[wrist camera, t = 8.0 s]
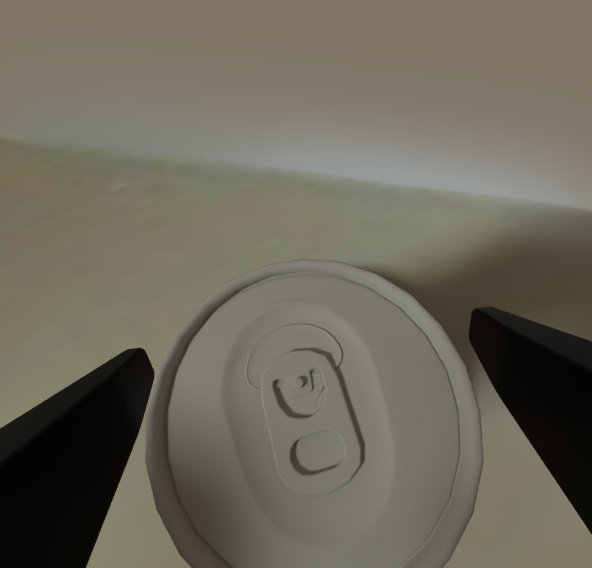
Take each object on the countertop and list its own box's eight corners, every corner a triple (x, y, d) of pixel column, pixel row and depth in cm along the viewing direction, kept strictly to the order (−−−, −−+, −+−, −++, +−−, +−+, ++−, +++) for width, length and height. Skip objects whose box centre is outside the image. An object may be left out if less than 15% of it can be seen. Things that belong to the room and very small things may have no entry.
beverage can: (349, 334, 16) (407, 213, 5) (383, 431, 15) (576, 576, 3) (261, 360, 16) (118, 300, 5) (285, 461, 15) (157, 706, 3)
